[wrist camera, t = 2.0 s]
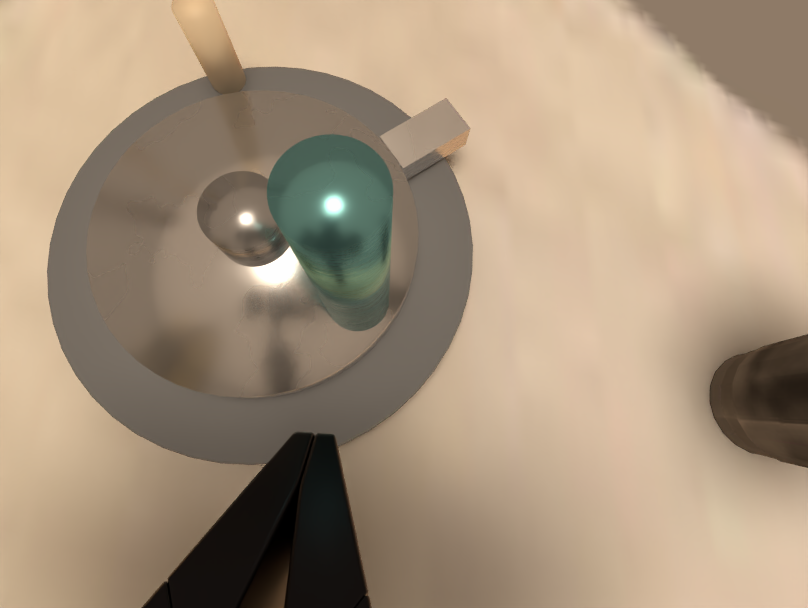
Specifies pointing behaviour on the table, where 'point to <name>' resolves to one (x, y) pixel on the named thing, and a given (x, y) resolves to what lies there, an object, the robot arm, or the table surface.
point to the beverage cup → (766, 400)
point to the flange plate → (261, 239)
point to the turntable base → (282, 415)
